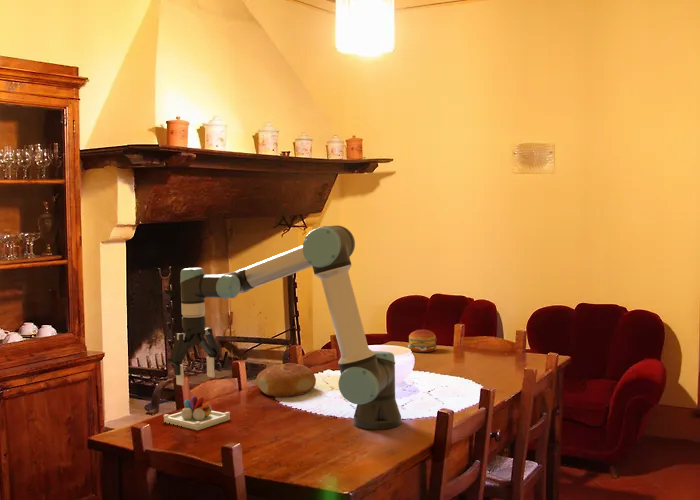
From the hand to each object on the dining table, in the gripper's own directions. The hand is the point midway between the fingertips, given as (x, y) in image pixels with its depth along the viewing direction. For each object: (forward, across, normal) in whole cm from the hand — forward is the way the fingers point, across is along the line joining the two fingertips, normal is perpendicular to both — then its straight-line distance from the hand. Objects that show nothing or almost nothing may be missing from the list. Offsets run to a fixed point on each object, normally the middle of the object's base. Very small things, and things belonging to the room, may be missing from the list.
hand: (195, 380), depth 254 cm
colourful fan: (+13, 0, 0) cm, 13 cm away
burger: (+14, -138, +2) cm, 139 cm away
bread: (+14, -46, -2) cm, 48 cm away
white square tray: (+13, 0, 0) cm, 13 cm away
